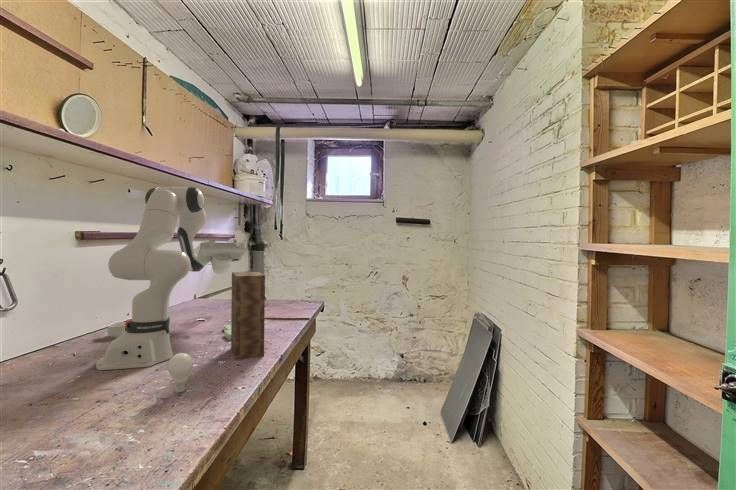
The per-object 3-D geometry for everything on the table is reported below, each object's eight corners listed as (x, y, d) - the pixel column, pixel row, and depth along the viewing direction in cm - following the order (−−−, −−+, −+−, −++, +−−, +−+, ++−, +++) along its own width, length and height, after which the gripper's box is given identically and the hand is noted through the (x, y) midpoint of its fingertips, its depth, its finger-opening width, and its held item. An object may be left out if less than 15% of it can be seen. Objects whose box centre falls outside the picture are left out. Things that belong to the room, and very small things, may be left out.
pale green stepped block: (229, 340, 149) (229, 334, 149) (217, 330, 164) (218, 325, 164) (248, 337, 154) (248, 332, 154) (235, 327, 169) (235, 322, 169)
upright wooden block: (235, 360, 125) (236, 276, 125) (231, 348, 138) (231, 272, 137) (264, 356, 130) (264, 275, 129) (257, 345, 142) (258, 271, 142)
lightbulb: (185, 397, 96) (185, 357, 96) (162, 397, 96) (162, 357, 96) (197, 387, 102) (197, 350, 102) (175, 387, 102) (175, 349, 102)
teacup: (128, 337, 151) (128, 325, 150) (106, 340, 146) (106, 327, 146) (129, 332, 159) (129, 320, 159) (108, 334, 155) (108, 322, 154)
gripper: (198, 248, 168) (199, 234, 158) (243, 248, 177) (247, 235, 167) (198, 260, 166) (199, 246, 155) (244, 260, 175) (247, 246, 164)
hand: (224, 240), depth 161 cm, fingers open, 8 cm apart
